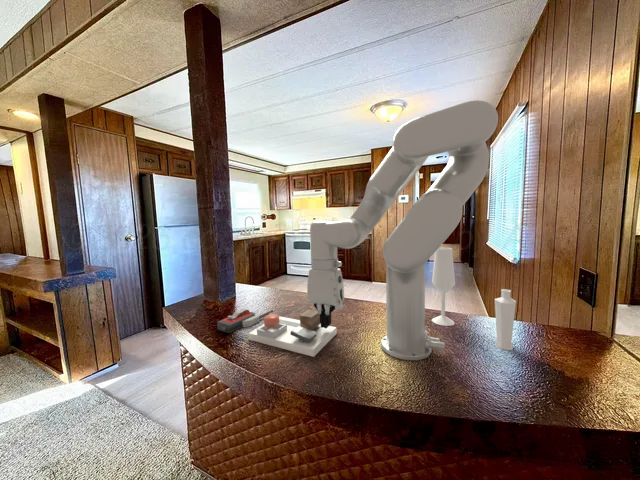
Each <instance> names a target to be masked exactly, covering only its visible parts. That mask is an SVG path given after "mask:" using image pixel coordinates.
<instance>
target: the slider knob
mask: <svg viewBox="0 0 640 480" xmlns="http://www.w3.org/2000/svg"><path fill="white" fill-rule="evenodd" d="M299 320H300V326H301V327H304V328H306V329H309V330H311V331H313V330H314V329H315V328H316V327H317V326H319V325H320V324H321V323H320V314H319V313H318V310H313V309H307V310H306V311H304V312H303V313H301V314H300V315H299Z"/></svg>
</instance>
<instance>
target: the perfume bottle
mask: <svg viewBox="0 0 640 480" xmlns="http://www.w3.org/2000/svg"><path fill="white" fill-rule="evenodd" d="M500 291H501V294H500V295H501V297H496V298H494V314H495V328H496V341H495V343H494V344H495V346H496V347H498V349H500V350H505V351H513V348H514V347H513V346H514V345H513V343H512V340H513V330H514V321H515V313H516V303H517V300H515V299H514V298H512V297H511V292H512V290H511V289H506V288H502V289H500Z"/></svg>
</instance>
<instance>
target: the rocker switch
mask: <svg viewBox="0 0 640 480" xmlns="http://www.w3.org/2000/svg"><path fill="white" fill-rule="evenodd" d="M290 335H292V336H295V337H297V338H299V339H302V340H304V341H306V342H311V341H312V340H313V339H314V338H315V337H316V336H317V333H316V332H314V331H311V330H309V329H306V328H304V327H301V326H297V327H296V328H295V329H293V330H292V331H291V334H290Z"/></svg>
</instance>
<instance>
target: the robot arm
mask: <svg viewBox="0 0 640 480" xmlns="http://www.w3.org/2000/svg"><path fill="white" fill-rule="evenodd" d="M498 123H499V115H498V111H497V109H496V107H494V105H492V104H491V103H490V102H487V101H485V100H478V99H477V100H469V101H465V102H461V103H459V104H456V105H453V106H450V107H446V108H443V109H441V110H437V111H434V112H431V113H428V114H425V115H422V116H419V117H416V118H413V119H410V120H409V121H407V122H405V123H403V124H402V125H401V126H400V127H398V129H397V130H396V131H395V133H394V136H393V140H392V147H391V149H390V150H389V151H388V153H387V154H386V156H385V157H384V158H383V159H382V161H381V163H380V164H379V165H378V167H377V168H376V169H375V171H374V173H373V174H372V175H371V176H370V177H369V180H368V182H367V184H366V187H365V191H364V195H363V198H362V200H361V201H360V203H359V205H358V207H357V208H356V210H354V212H353V214H352V215H351V216H350V217H349V219H344V220H339V221H333V220H318V221H313V222H311V224H310V227H309V228H310V229H309V233H310V234H309V235H310V236H309V237H310V264H311V265H310V268H309V271H308V276H307V287H306V288H307V290H306V291H307V293H306V294H307V300H308V302H307V303H308V304H309V305H311V306H312V307H314V308H315V309H316V311H318V313H319V314H320V324H321V328H323V327H324V328H327V327H328V326H331V324H332V313H333V312H334V311H338V310H339V311H341V310H342V309H343V308H344V305H343V302H344V300H345V288H344V281H343V279H344V278H343V274H342V270H341V268H339V267H342V265H343V262H342V261H339V258H338V248H341V249H353V248H355V247H357V246H359V245H360V244H361V243H363V242H364V241H365V240H366V239H367V238H368V236H370V234H371V232H373V230H374V228H375V227H377V225H378V223H379V222H380V221H381V219H383V217H384V215H385V214H386V212H388V210H389V209H390V208H391V207H392V206H393V205H394V204H395V201H396V200H397V199H398V198H399V196H400V195H401V193H402V192H403V191H404V189H405V188H406V187H407V185H408V184H409V183H410V182H411V180H412V179H413V178H414V176H415V175H416V174H417V173H418V171H420V169H421V168H422V166H423V165H424V163H425V162H426V161H427V159H428V158H429V156H434V155H439V154H444V153H448V161H447V164H446V166H445V167H444V168H443V170H442V171H441V172H440V174H439V175H438V177H437V178H436V180H435V181H433V183H432V185H431V186H430V187H429V188H428V189H427V190H426V191H425V193H423V194H422V195H420V197H418V199H417V200H416V201H415V202H414V204H413V205H412V206H411V208H410V209H409V210H408V212H407V213H406V214H405V216H404V217H403V218H402V219H401V220H400V222H399V223H398V225H397V226H396V227H395V228H394V230H393V231H392V232H391V234H389V236H388V237H387V239H386V240H385V241H384V243H383V247H382V256H383V259H384V262H385V264H386V265H385V266H386V268H385V269H386V273H385V274H386V277H385V284H386V288H385V292H386V293H385V295H386V297H385V298H386V301H385V302H386V304H385V305H386V309H385V310H386V335H385V336H383V337H382V338H381V340H380V345H381V349H382V351H384V353H386V354H387V355H389V356H391V357H393V358H396V359H400V360H404V361H420V360H421V361H422V360H425V359H426V358H428V357H429V356H431V355H432V349H434V350H436V351H441V352H445V342H442V341H440V338H438V337H431V336H430V335H428V330H427V329H426V263H427V262H428V261H429V260H430V258H432V256H433V255H435V252H436V251H437V249H438V248H439V247H441V246H442V245H443V244H444V243H445V241H446V240H447V239H448V238H449V236H450V235H451V234H452V233H453V232H454V231H455V229H456V228H457V227H458V225H459V223H460V222H461V219H462V217H463V206H464V205H465V204H466V202H467V201H468V200H469V199H470V197H471V196H472V195H473V193H474V192H475V191H476V190H477V189H478V187H479V186H480V185H481V183H482V182H483V180H484V178H485V176H486V175H487V173H488V170H489V166H490V165H489V163H490V153H489V149H488V146H487V143H486V142H487V141H488V140H489V139H490V138H491V137H492V135H494V132H495V131H496V129H497V126H498Z"/></svg>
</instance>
